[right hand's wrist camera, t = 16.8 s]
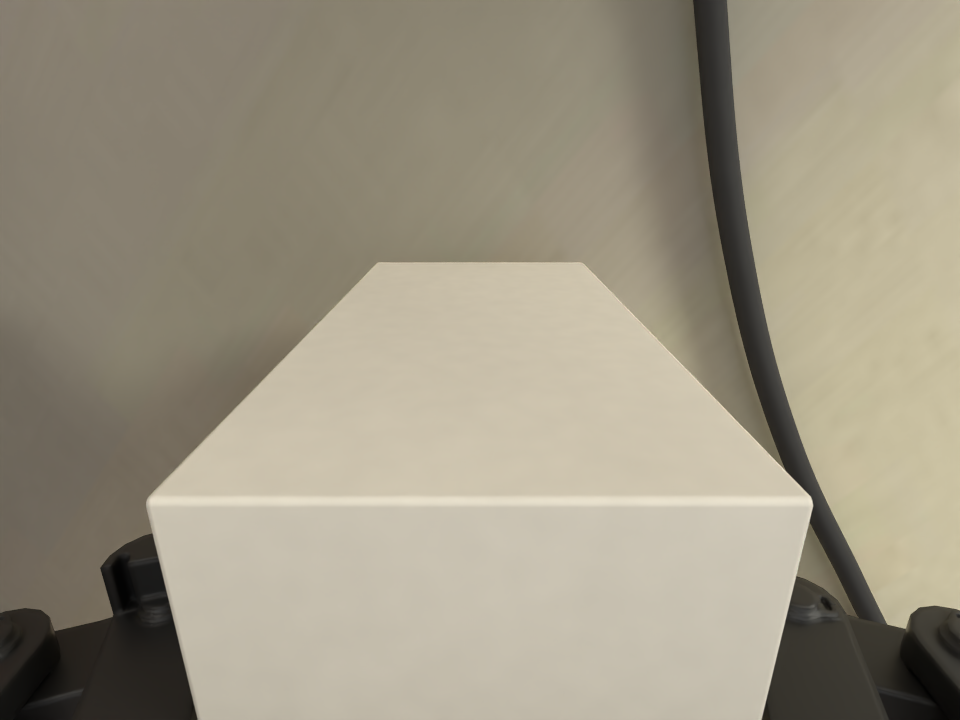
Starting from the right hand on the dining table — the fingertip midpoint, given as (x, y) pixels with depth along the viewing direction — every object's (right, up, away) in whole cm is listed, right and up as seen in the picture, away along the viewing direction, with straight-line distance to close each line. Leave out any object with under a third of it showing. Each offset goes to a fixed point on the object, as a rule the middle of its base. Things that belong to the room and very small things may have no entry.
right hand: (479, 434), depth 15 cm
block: (0, +1, +3) cm, 3 cm away
